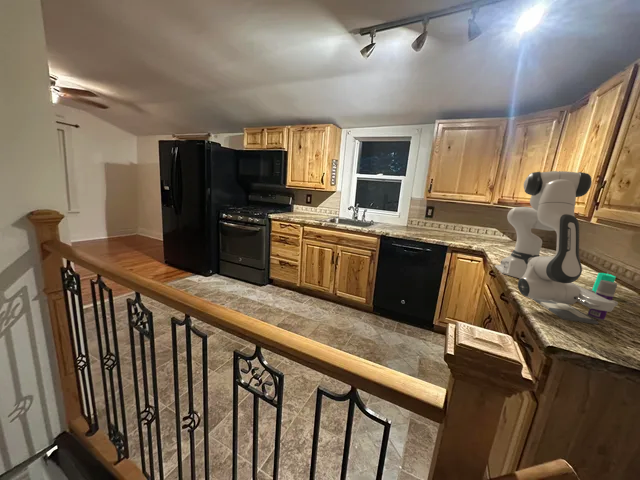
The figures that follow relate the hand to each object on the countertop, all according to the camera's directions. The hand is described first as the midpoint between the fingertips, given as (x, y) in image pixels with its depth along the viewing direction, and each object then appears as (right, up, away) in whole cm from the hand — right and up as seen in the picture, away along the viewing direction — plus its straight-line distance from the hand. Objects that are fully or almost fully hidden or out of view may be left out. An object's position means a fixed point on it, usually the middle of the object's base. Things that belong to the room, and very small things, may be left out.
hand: (603, 297), depth 99 cm
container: (-1, -8, +2) cm, 9 cm away
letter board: (-12, -6, +6) cm, 15 cm away
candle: (+31, -5, +30) cm, 43 cm away
